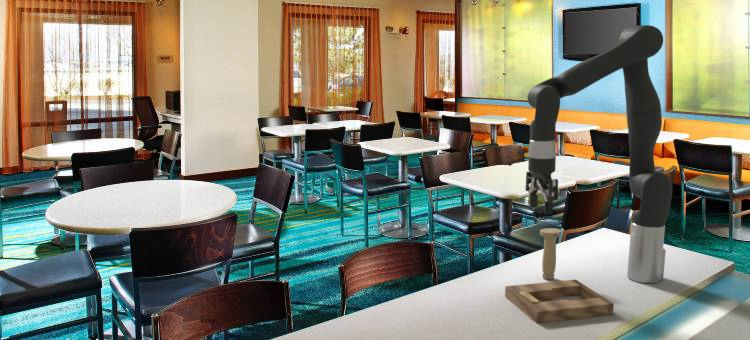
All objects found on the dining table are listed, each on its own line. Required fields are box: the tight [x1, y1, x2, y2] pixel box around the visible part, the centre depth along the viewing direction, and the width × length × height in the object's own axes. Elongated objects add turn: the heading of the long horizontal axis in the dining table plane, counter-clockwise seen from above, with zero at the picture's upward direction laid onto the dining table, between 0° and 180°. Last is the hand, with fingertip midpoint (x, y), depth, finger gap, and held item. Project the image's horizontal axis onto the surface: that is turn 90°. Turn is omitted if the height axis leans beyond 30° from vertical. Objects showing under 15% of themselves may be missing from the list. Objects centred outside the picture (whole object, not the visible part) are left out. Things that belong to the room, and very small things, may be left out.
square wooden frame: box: [504, 279, 615, 324], centre depth 166 cm, size 22×18×3 cm
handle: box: [539, 227, 563, 281], centre depth 185 cm, size 5×6×15 cm
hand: (540, 210), depth 178 cm, fingers open, 8 cm apart
